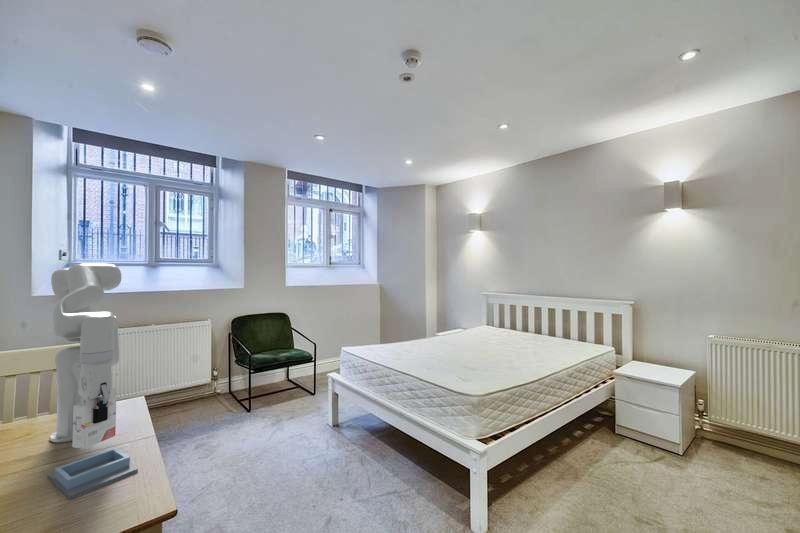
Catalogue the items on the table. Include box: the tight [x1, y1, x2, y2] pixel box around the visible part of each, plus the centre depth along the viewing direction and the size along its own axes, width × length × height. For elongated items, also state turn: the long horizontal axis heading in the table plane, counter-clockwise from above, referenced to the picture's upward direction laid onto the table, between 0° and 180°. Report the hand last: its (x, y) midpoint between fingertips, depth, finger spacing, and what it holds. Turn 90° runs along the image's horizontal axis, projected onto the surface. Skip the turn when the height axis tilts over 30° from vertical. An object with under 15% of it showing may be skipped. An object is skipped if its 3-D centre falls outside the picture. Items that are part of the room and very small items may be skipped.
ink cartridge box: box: [71, 387, 117, 450], centre depth 101 cm, size 9×5×15 cm, turn 167°
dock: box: [46, 447, 139, 501], centre depth 101 cm, size 18×15×4 cm
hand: (95, 418), depth 101 cm, fingers closed on ink cartridge box, 6 cm apart
